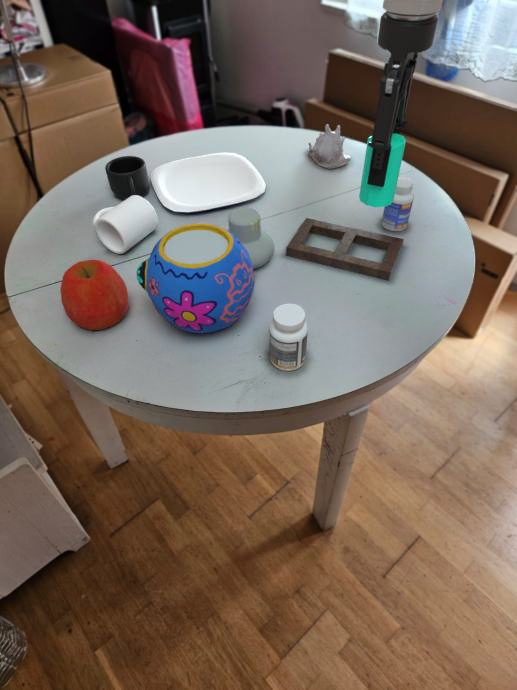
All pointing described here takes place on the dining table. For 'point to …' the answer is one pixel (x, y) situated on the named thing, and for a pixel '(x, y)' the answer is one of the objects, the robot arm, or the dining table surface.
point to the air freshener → (251, 235)
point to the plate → (206, 182)
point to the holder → (345, 248)
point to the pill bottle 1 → (288, 337)
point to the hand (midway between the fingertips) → (380, 175)
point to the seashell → (329, 149)
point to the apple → (94, 295)
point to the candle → (386, 194)
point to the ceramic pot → (198, 277)
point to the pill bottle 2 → (399, 206)
